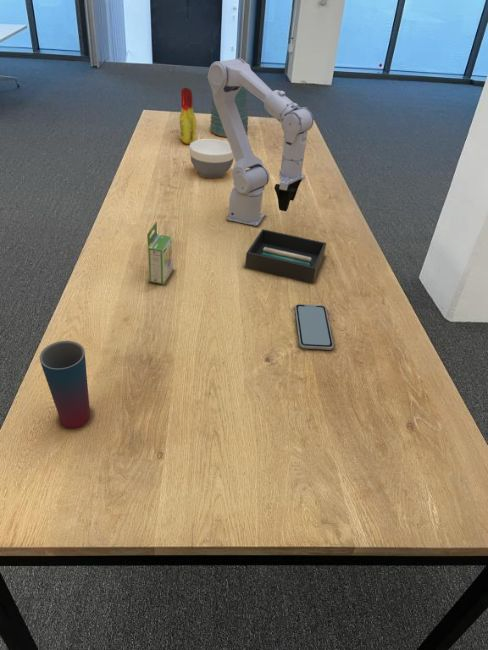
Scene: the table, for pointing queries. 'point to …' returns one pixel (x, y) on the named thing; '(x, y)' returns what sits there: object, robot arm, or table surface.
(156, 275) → the ink box
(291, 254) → the straws
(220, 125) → the vase
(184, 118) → the bottle
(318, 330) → the smartphone
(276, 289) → the table surface
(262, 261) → the bin
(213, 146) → the bowl
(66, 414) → the cup
